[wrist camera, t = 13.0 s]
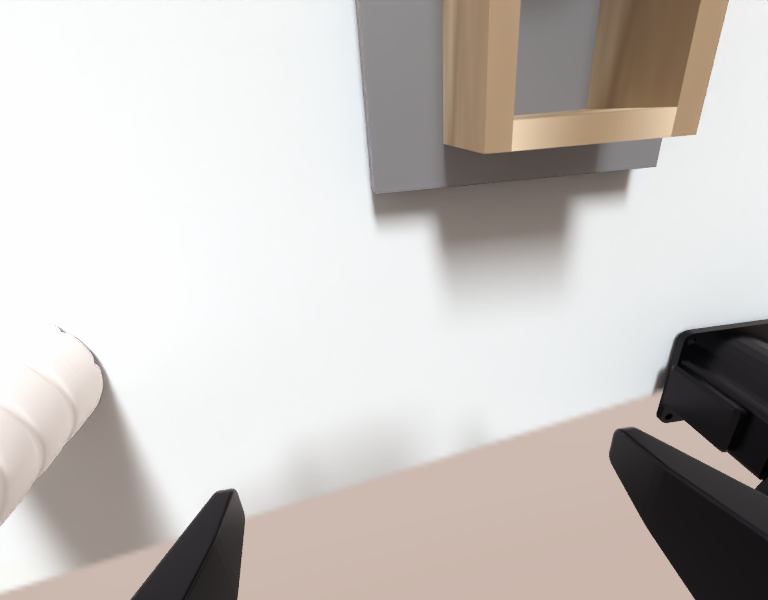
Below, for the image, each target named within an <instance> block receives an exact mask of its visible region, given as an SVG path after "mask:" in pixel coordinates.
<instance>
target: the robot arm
mask: <svg viewBox="0 0 768 600" xmlns="http://www.w3.org/2000/svg"><path fill="white" fill-rule="evenodd" d="M657 417H658V418H659V419H660V420H661V421H662V422H664V423H669V422H676V421H682V420H685V421H686V422H687V423H688V424H689V425H691V426H692V427H693V428H694V429H695V430H696V431H698V432H699V433H700V434H701V435H702V436H703V437H705V438H706V439H707V440H708V441H709V442H710V443H712V444H713V445H714V446H715V447H716V448H717V449H719V450H720V451H721V452H728V453H729V454H730V455H731V456H733V457H734V458H735V459H736V460H737V461H739V462H740V463H741V464H742V465H743V466H744V467H746V468H747V469H748V470H749V471H750V472H751V473H753V474H754V475H755V476H756V477H757V478H759V479H760V480H763V481H762V482H761V483H760V484H759V485H758V486H757V487H756V488H755V489H753V488H751V487H749V486H747V485H745V484H743V483H741V482H739V481H737V480H735V479H733V478H731V477H729V476H728V475H726V474H724V473H722V472H720V471H718V470H716V469H714V468H712V467H710V466H708V465H707V464H704V463H703V462H701V461H699V460H697V459H695V458H693V457H691V456H689V455H687V454H685V453H683V452H681V451H680V450H678V449H676V448H674V447H672V446H670V445H668V444H666V443H664V442H662V441H660V440H658V439H656V438H654V437H652V436H651V435H649V434H647V433H645V432H643V431H641V430H639V429H637V428H635V427H626V428H620V429H617V430H615V432H614V434H613V438H612V443H611V447H610V452H609V457H610V461H611V464H612V466H613V468H614V469H615V471H616V473H617V475H618V477H619V479H620V480H621V482H622V484H623V486H624V487H625V489H626V491H627V492H628V495H629V497H630V498H631V500H632V502H633V504H634V506H635V508H636V509H637V511H638V513H639V515H640V517H641V518H642V520H643V522H644V523H645V525H646V527H647V528H648V530H649V532H650V533H651V535H652V536H653V538H654V539H655V540H656V542H657V543H658V545H659V547H660V548H661V550H662V551H663V552H664V554H665V556H666V557H667V559H668V560H669V561H670V563H671V564H672V566H673V567H674V569H675V570H676V572H677V573H678V575H679V576H680V578H681V579H682V581H683V582H684V584H685V585H686V587H687V588H688V590H689V591H690V593H691V594H692V596H693V597H694V599H695V600H768V319H766V320H758V321H751V322H744V323H736V324H729V325H721V326H714V327H706V328H699V329H691V330H687V331H684V332H683V333H682V334H681V335H680V336H679V338H678V341H677V344H676V348H675V351H674V355H673V358H672V362H671V365H670V369H669V372H668V376H667V379H666V383H665V386H664V390H663V393H662V396H661V400H660V404H659V407H658V411H657ZM244 526H245V515H244V511H243V508H242V505H241V502H240V499H239V496H238V493H237V491H236V490H235V489H226V490H220V491H217V492H216V493H214V494H213V496H212V497H211V498H210V499H209V501H208V502H207V503H206V504H205V506H204V507H203V508H202V510H201V511H200V512H199V513H198V515H197V516H196V517H195V518H194V520H193V521H192V522H191V524H190V525H189V526H188V527H187V529H186V530H185V531H184V532H183V534H182V535H181V536H180V537H179V539H178V540H177V541H176V543H175V544H174V545H173V546H172V548H171V549H170V550H169V551H168V553H167V554H166V555H165V557H164V558H163V559H162V560H161V562H160V563H159V564H158V566H157V567H156V568H155V570H154V571H153V572H152V573H151V574H150V576H149V577H148V578H147V579H146V581H145V582H144V583H143V584H142V586H141V587H140V588H139V590H138V591H137V592H136V593H135V595H134V596H133V597H132V598H131V600H237V597H238V588H239V578H240V568H241V557H242V546H243V536H244Z"/></svg>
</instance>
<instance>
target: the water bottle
mask: <svg viewBox="0 0 768 600" xmlns="http://www.w3.org/2000/svg"><path fill="white" fill-rule="evenodd" d="M102 390H103V379H102V374H101V370H100V368H99V366H98V365H97V364H95V363H94V358H93V356H92V354H91V352H90V351H89V350H88V349H87V348H86V347H85V346H84V345H83V344H82V343H81V342H80V341H79V340H78V339H76V338H75V337H74V336H72V335H71V334H68V333H63V332H61V331H60V329H59V328H58V327H57V326H55V325H53V324H51V323H48V322H46V321H43V320H40V319H36V318H33V317H28V316H10V315H7V314H0V526H1V525H2V524H3V523H4V521H5V520H6V519H7V518H8V517H9V516H10V514H11V513H12V512H13V511H14V509H15V508H16V507H17V506H18V504H19V503H20V502H21V500H22V499H23V498H24V496H25V495H26V494H27V492H28V491H29V489H30V488H31V486H32V484H33V482H34V481H35V480H37V479H38V478H39V477H40V476H41V475H42V474H43V473H44V471H45V470H46V469H47V468H48V467H49V466H50V464H51V463H52V462H53V461H54V459H55V458H56V457H57V455H58V454H59V453H60V451H61V450H62V448H63V446H64V445H65V444H66V443H67V442H68V441H69V440H70V439H71V438H72V437H73V436H74V435H75V433H76V432H77V431H78V430H79V429H80V427H81V426H82V425H83V423H84V422H85V421H86V420H87V418H88V417H89V416H90V415H91V413H92V412H93V411H94V409H95V408H96V406H97V405H98V403H99V400H100V396H101V394H102Z"/></svg>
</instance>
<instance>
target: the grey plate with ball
mask: <svg viewBox="0 0 768 600" xmlns="http://www.w3.org/2000/svg"><path fill="white" fill-rule="evenodd" d="M600 1H601V0H521V5H520V21H519V37H518V54H517V70H516V86H515V103H514V115H523V114H535V113H547V112H559V111H571V110H582V109H586V107H587V99H588V92H589V84H590V77H591V69H592V61H593V54H594V46H595V39H596V31H597V23H598V16H599V8H600ZM356 9H357V21H358V33H359V45H360V57H361V69H362V80H363V92H364V104H365V116H366V128H367V140H368V151H369V163H370V175H371V187H372V190H373V191H374V193H375V194H382V193H393V192H403V191H413V190H423V189H434V188H444V187H454V186H464V185H474V184H485V183H495V182H505V181H515V180H526V179H536V178H546V177H556V176H566V175H577V174H587V173H597V172H607V171H617V170H628V169H638V168H648V167H656V164H657V160H658V155H659V150H660V146H661V141H662V138H653V139H642V140H631V141H620V142H609V143H598V144H588V145H577V146H566V147H555V148H544V149H533V150H522V151H511V152H501V153H490V154H482V153H478V152H474V151H470V150H466V149H462V148H458V147H454V146H450V145H446V144H443V26H442V0H356Z"/></svg>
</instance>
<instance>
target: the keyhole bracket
mask: <svg viewBox="0 0 768 600" xmlns="http://www.w3.org/2000/svg"><path fill="white" fill-rule="evenodd" d="M728 2H729V0H601V1H600V8H599V16H598V23H597V31H596V39H595V46H594V54H593V61H592V69H591V77H590V84H589V92H588V99H587V107H586V109H582V110H571V111H559V112H547V113H535V114H523V115H514V103H515V86H516V70H517V54H518V37H519V21H520V5H521V0H442V26H443V144H446V145H450V146H454V147H458V148H462V149H466V150H470V151H474V152H478V153H482V154H490V153H501V152H511V151H522V150H533V149H544V148H555V147H566V146H577V145H588V144H598V143H609V142H620V141H631V140H642V139H653V138H664V137H674V136H685V135H696V132H697V128H698V124H699V120H700V116H701V112H702V107H703V103H704V99H705V95H706V91H707V87H708V83H709V79H710V75H711V71H712V67H713V63H714V59H715V54H716V50H717V46H718V42H719V38H720V34H721V30H722V26H723V22H724V18H725V14H726V10H727V6H728Z"/></svg>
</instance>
